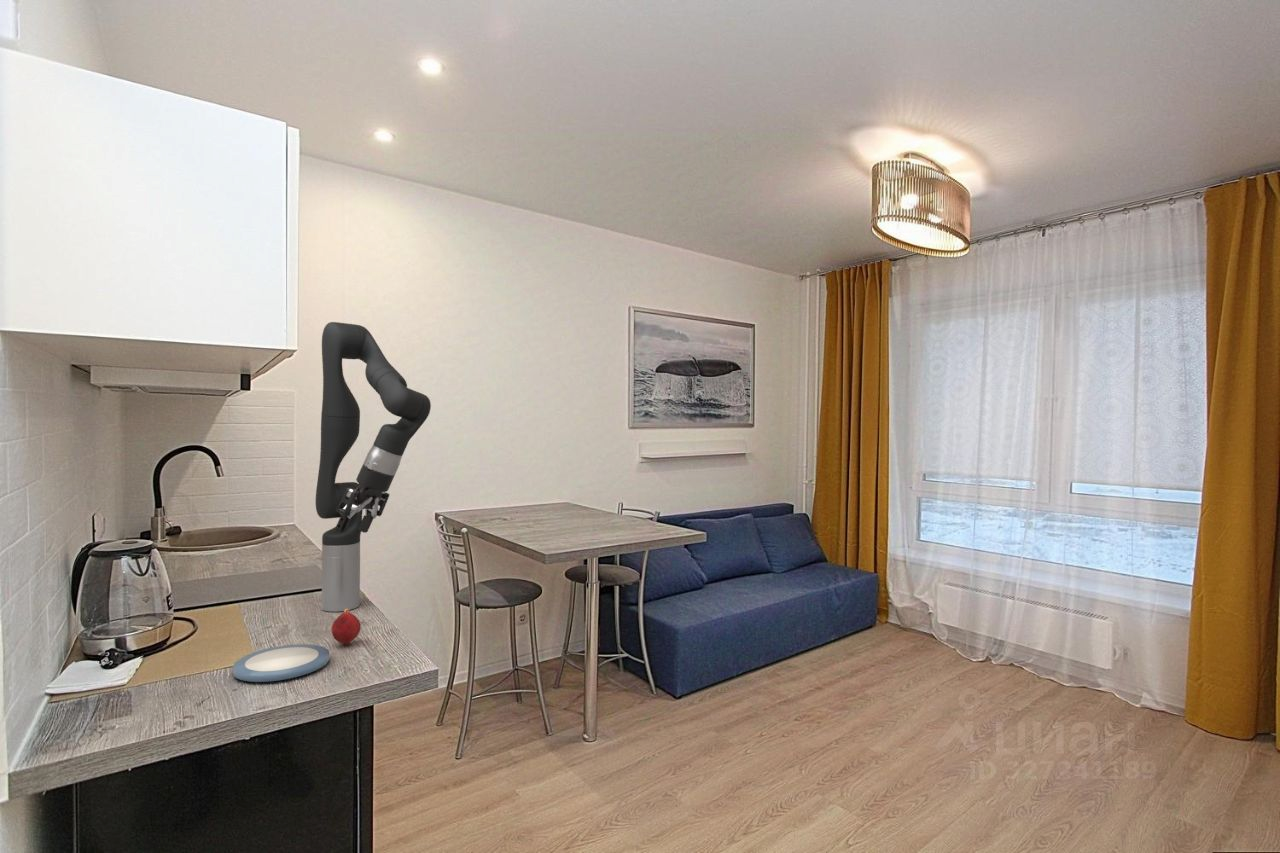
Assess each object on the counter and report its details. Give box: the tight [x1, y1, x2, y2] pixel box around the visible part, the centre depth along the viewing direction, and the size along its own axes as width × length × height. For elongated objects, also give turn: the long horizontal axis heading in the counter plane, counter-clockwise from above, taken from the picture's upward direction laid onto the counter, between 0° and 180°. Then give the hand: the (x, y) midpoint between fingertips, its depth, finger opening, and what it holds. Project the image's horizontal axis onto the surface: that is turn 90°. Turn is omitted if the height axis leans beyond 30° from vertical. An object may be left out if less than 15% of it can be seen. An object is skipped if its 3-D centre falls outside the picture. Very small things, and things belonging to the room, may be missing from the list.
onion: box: [331, 609, 361, 646], centre depth 144 cm, size 6×6×8 cm
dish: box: [232, 643, 330, 683], centre depth 130 cm, size 17×17×2 cm
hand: (351, 531), depth 151 cm, fingers open, 8 cm apart
